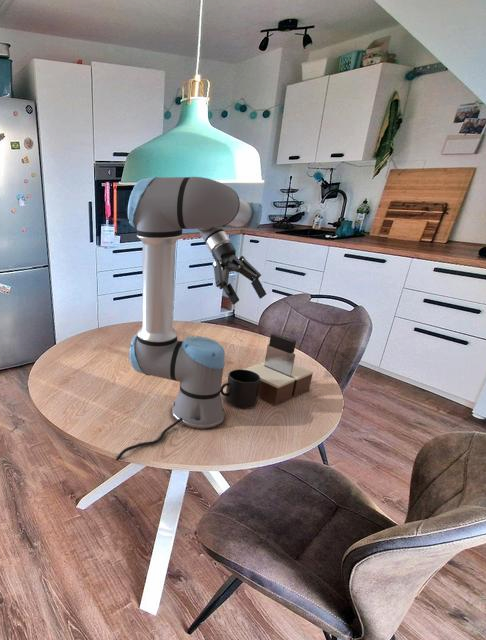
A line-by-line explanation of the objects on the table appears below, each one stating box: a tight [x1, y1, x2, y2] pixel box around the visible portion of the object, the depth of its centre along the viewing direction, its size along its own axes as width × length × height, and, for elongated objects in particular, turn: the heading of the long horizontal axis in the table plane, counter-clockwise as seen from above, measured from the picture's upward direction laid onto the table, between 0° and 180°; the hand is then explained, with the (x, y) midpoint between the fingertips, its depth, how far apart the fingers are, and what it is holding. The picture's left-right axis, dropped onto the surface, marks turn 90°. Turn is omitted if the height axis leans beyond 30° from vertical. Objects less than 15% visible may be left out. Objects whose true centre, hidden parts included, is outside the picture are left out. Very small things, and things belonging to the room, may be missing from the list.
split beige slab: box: [242, 361, 314, 406], centre depth 129 cm, size 18×14×7 cm
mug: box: [220, 368, 260, 409], centre depth 121 cm, size 9×12×9 cm
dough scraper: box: [264, 333, 297, 377], centre depth 125 cm, size 2×10×12 cm, turn 32°
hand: (250, 299), depth 130 cm, fingers open, 13 cm apart
